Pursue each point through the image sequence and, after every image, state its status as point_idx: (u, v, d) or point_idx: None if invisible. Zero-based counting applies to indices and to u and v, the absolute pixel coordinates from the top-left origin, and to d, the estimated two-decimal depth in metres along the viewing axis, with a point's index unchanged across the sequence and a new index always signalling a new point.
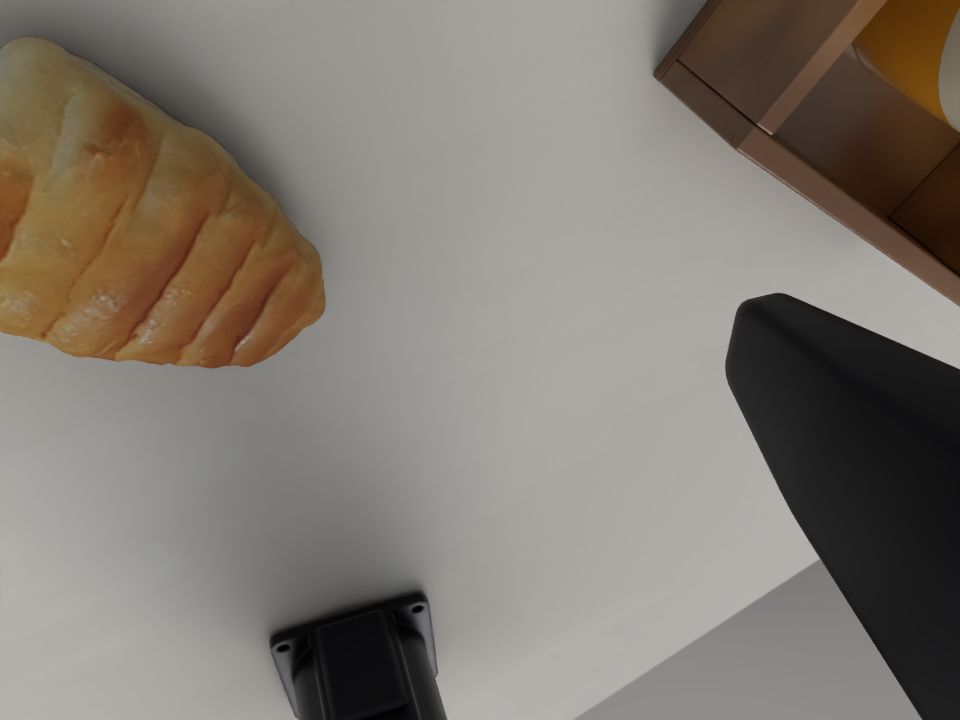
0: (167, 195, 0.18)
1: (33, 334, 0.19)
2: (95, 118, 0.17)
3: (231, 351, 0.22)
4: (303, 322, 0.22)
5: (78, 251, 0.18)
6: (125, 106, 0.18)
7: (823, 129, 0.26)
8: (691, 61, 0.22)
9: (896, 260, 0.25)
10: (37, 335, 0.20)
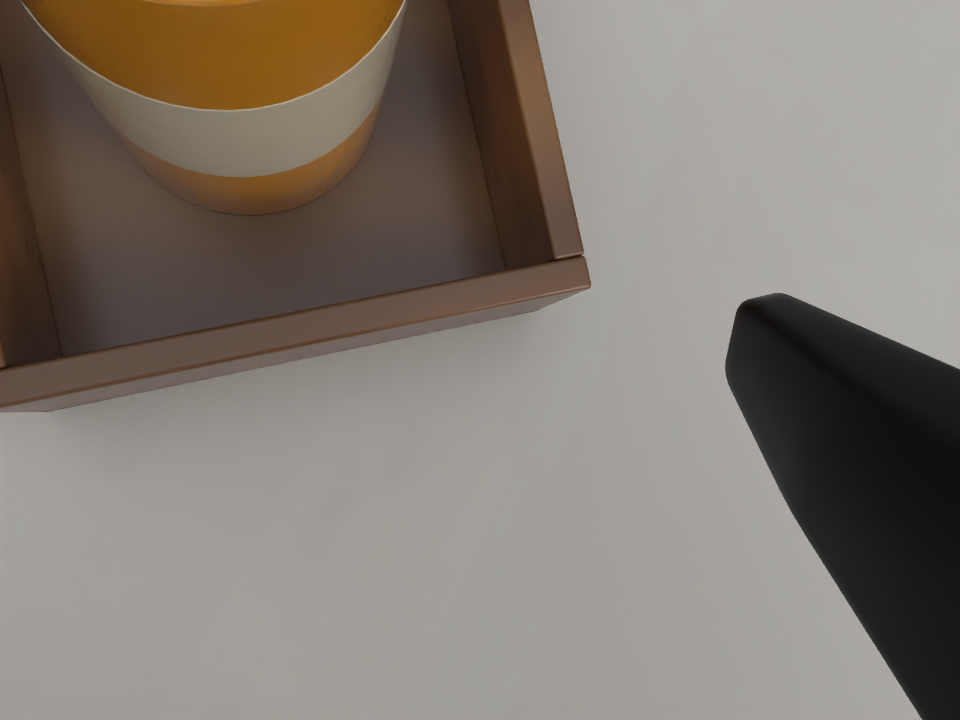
0: None
1: None
2: None
3: None
4: None
5: None
6: None
7: (294, 291, 0.21)
8: None
9: (390, 326, 0.17)
10: None
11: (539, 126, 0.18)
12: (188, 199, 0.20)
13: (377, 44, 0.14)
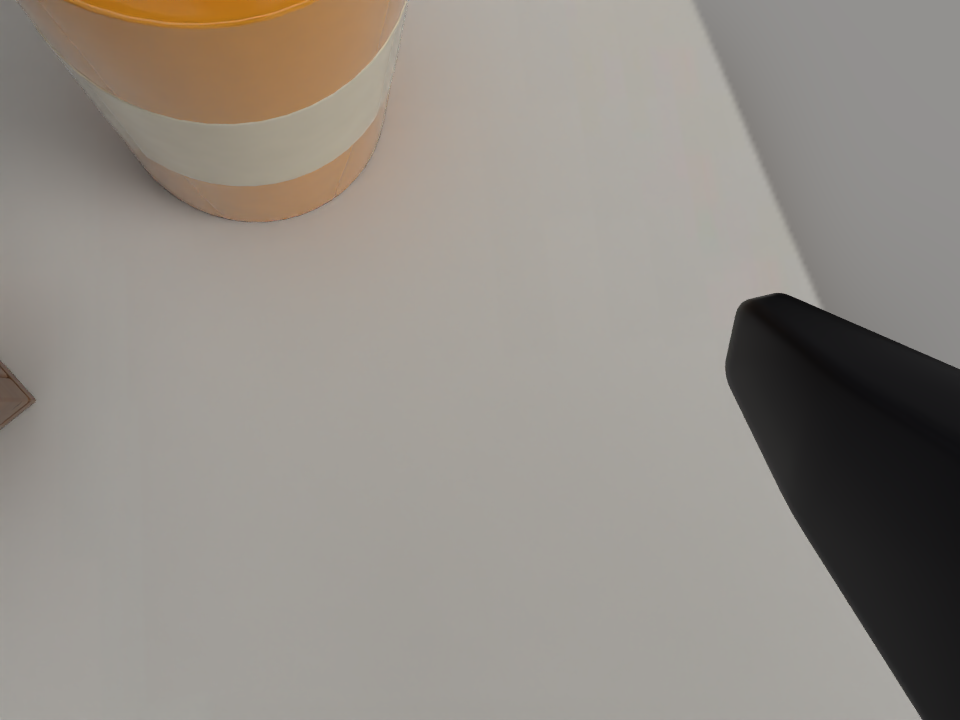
0: None
1: None
2: None
3: None
4: None
5: None
6: None
7: None
8: None
9: None
10: None
11: None
12: (200, 207, 0.20)
13: (376, 56, 0.14)
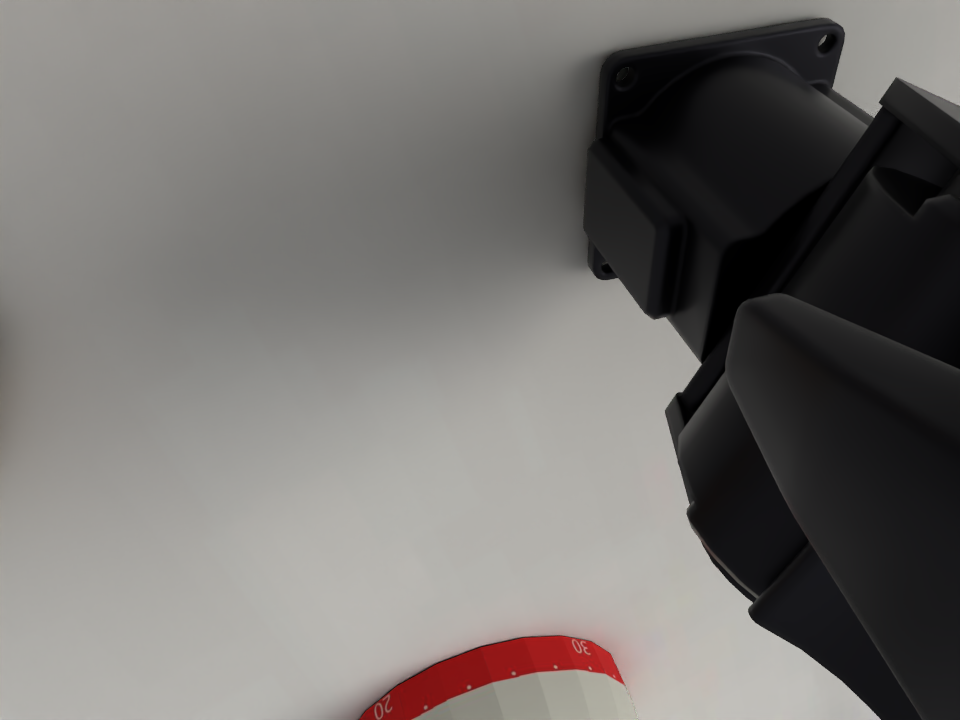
0: None
1: None
2: None
3: None
4: None
5: None
6: None
7: None
8: None
9: None
10: None
11: None
12: None
13: None
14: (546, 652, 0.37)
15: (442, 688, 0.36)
